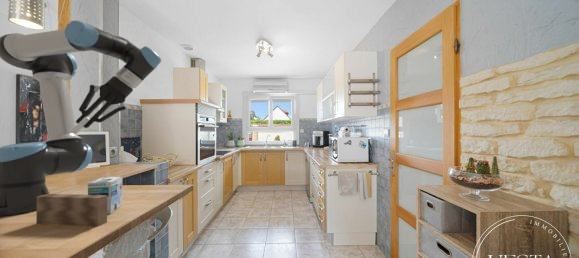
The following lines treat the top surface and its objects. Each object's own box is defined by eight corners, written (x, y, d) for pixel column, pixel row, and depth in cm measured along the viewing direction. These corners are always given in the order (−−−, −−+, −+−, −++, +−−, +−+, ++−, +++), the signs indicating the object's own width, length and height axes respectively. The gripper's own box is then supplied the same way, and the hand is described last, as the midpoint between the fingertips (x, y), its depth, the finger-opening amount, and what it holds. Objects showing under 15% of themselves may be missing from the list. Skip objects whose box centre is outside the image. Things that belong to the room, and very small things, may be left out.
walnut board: (36, 223, 69) (36, 196, 69) (47, 219, 72) (48, 193, 72) (97, 226, 67) (98, 198, 67) (107, 222, 70) (107, 195, 70)
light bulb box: (111, 214, 77) (111, 181, 77) (86, 216, 75) (86, 183, 75) (123, 204, 87) (123, 175, 88) (101, 206, 85) (101, 177, 85)
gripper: (104, 67, 80) (48, 121, 74) (140, 93, 85) (89, 145, 80) (109, 71, 87) (57, 120, 81) (141, 94, 92) (95, 142, 86)
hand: (73, 132), depth 80 cm, fingers closed
